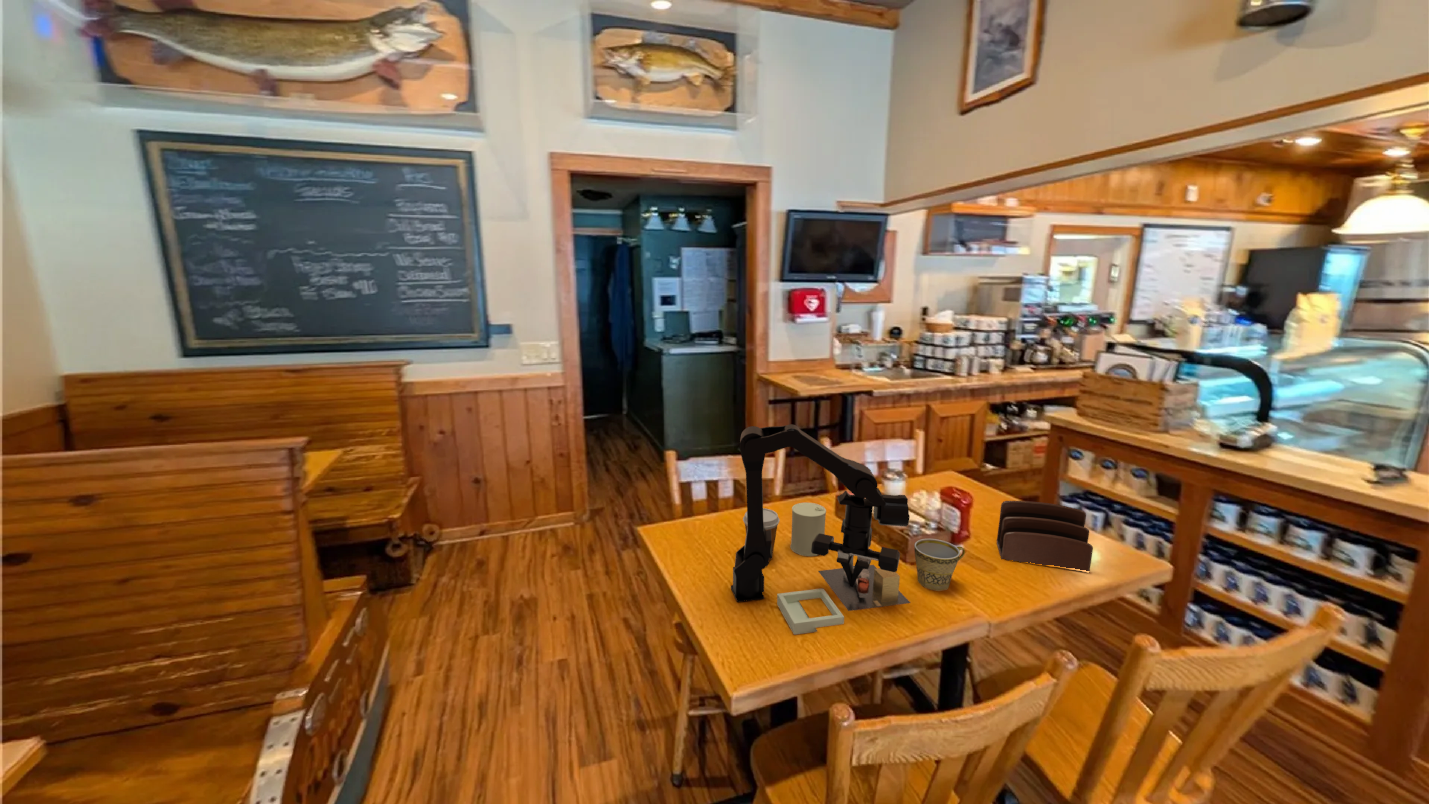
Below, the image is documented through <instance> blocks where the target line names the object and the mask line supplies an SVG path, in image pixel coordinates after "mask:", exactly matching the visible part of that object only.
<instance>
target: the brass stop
mask: <svg viewBox="0 0 1429 804" xmlns="http://www.w3.org/2000/svg"><path fill="white" fill-rule="evenodd" d="M876 568H877V569H874V583H873V593H874V594H875V595H876V597H877V598H878V599H879V600H880V601H881V602H887V601H895V600H898V591H900V590H899V587H900V579H901V578H900V574H899V573H897V572H891V571H886V570H882V569H881V568H880V567H879V568H878V567H876Z"/></svg>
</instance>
